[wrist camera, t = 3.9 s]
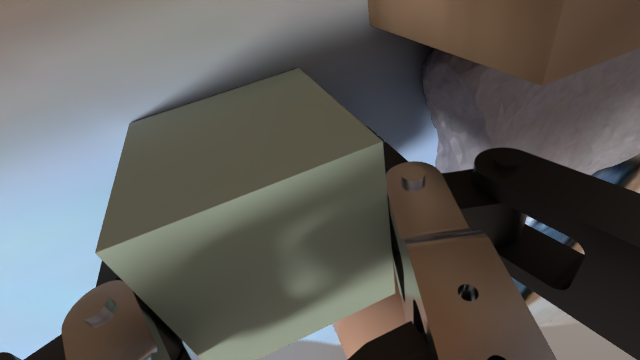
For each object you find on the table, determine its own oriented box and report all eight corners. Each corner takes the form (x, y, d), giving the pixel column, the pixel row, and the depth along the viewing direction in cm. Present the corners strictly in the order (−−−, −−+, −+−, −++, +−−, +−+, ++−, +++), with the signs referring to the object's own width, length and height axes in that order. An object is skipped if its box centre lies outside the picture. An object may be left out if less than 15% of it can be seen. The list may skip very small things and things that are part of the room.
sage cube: (129, 123, 9) (94, 252, 5) (298, 67, 10) (382, 141, 6) (204, 241, 12) (219, 377, 8) (328, 191, 13) (395, 293, 9)
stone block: (585, 103, 19) (704, -121, 11) (672, 154, 16) (921, -104, 8) (407, 190, 18) (402, 16, 10) (463, 263, 15) (515, 92, 7)
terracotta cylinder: (300, 244, 14) (363, 388, 9) (389, 206, 15) (490, 321, 10) (319, 299, 17) (376, 431, 12) (394, 264, 17) (474, 376, 13)
